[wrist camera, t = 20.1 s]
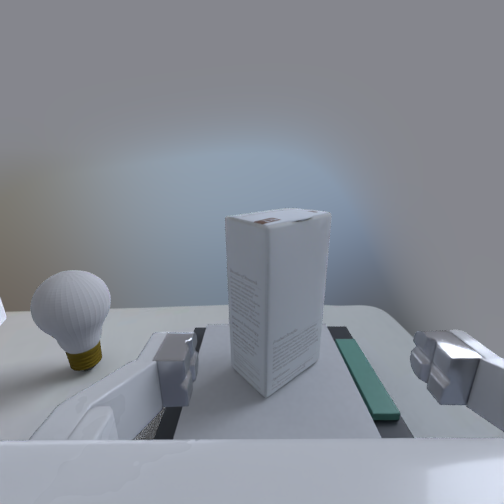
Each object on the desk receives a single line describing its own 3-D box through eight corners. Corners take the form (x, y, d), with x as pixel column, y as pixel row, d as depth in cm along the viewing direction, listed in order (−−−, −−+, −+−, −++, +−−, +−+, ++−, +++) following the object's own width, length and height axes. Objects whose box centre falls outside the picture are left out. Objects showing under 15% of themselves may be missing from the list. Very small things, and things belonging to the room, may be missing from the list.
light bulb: (96, 342, 29) (78, 258, 26) (134, 357, 27) (119, 266, 24) (36, 379, 24) (6, 279, 21) (77, 401, 22) (49, 291, 19)
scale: (343, 346, 28) (346, 317, 27) (426, 502, 15) (438, 457, 14) (196, 347, 28) (194, 319, 27) (146, 503, 15) (138, 459, 14)
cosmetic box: (281, 337, 24) (285, 205, 21) (322, 363, 21) (335, 211, 17) (227, 369, 20) (220, 213, 17) (266, 406, 17) (268, 222, 13)
